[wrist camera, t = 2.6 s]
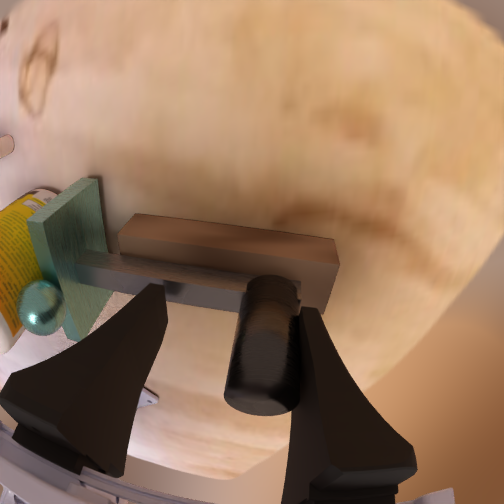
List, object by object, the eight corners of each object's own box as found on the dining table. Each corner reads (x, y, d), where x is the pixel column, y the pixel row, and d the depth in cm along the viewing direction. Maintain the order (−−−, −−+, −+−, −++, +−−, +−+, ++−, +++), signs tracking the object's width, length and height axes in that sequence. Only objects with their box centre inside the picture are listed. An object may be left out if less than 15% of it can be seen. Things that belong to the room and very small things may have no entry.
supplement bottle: (37, 166, 14) (-100, 269, 5) (102, 229, 15) (-17, 372, 7) (17, 225, 16) (-82, 323, 8) (71, 279, 18) (-14, 397, 10)
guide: (333, 239, 15) (339, 264, 13) (320, 287, 16) (323, 314, 15) (135, 213, 15) (117, 234, 13) (140, 261, 17) (125, 284, 15)
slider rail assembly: (311, 201, 13) (330, 332, 7) (285, 316, 17) (280, 441, 11) (71, 177, 14) (-31, 260, 7) (92, 283, 17) (32, 377, 11)
